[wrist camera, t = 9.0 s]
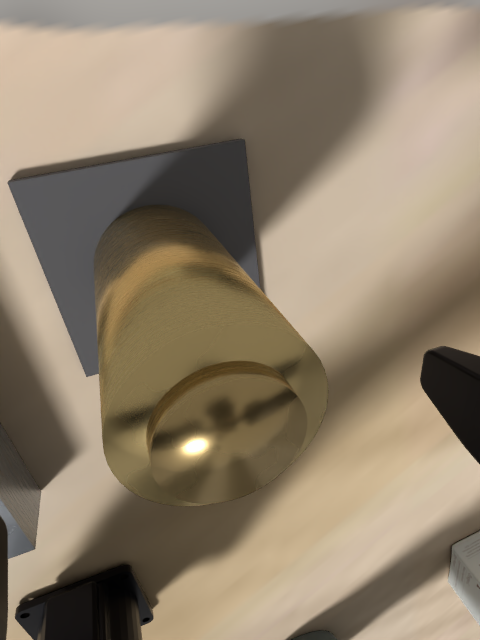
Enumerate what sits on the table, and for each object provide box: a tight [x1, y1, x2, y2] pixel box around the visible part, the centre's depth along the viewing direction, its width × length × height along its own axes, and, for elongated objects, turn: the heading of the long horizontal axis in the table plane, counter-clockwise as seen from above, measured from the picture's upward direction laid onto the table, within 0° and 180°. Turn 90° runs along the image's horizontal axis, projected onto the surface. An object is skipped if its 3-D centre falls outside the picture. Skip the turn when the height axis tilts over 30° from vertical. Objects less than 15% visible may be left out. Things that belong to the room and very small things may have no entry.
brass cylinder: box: [94, 205, 328, 506], centre depth 12 cm, size 5×5×10 cm
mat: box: [8, 139, 260, 377], centre depth 16 cm, size 8×8×1 cm
